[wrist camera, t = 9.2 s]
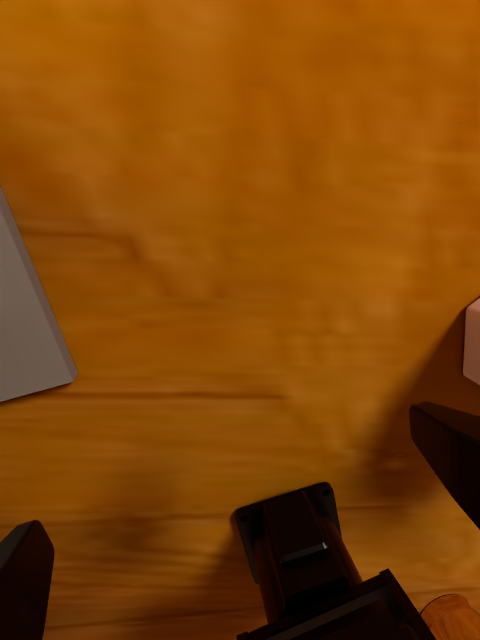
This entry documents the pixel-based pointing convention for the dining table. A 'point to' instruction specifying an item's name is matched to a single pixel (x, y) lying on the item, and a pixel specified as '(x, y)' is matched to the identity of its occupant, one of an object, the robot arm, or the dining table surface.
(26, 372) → the fulcrum
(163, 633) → the dining table surface
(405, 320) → the dining table surface
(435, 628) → the cup with straw
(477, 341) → the jar
